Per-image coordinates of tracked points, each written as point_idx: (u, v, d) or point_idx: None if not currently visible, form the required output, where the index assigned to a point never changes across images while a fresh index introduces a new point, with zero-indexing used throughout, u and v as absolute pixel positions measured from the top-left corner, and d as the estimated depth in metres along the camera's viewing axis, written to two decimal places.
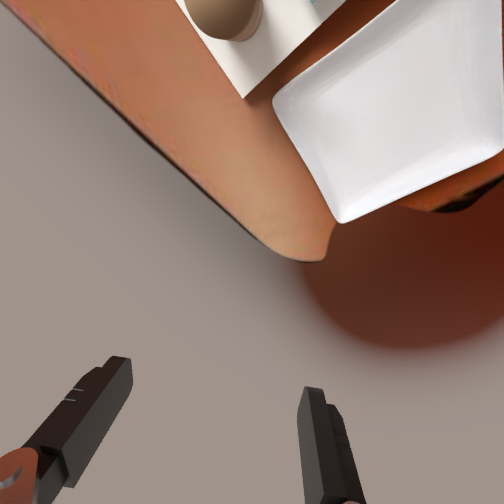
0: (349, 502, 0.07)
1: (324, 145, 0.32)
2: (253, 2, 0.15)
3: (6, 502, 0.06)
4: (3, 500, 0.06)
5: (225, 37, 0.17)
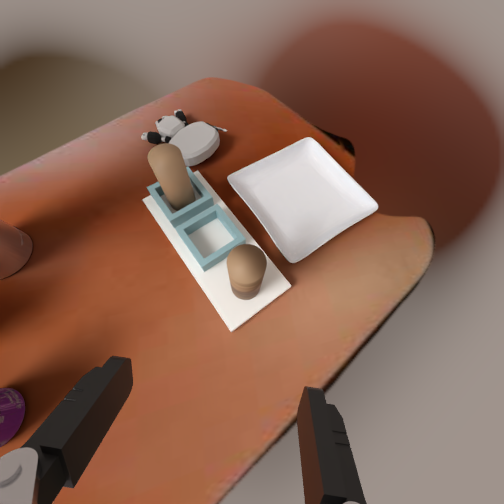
0: (349, 502, 0.07)
1: (317, 230, 0.43)
2: (252, 245, 0.29)
3: (6, 502, 0.06)
4: (3, 500, 0.06)
5: (266, 260, 0.28)
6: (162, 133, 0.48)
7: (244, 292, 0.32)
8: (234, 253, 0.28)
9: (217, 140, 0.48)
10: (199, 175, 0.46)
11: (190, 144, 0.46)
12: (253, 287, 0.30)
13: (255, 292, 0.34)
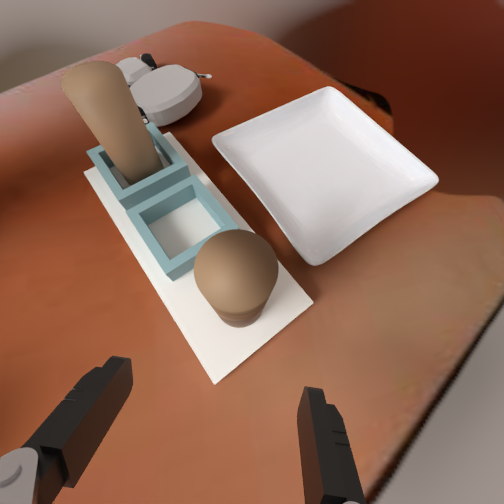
0: (349, 502, 0.07)
1: (347, 215, 0.29)
2: (248, 232, 0.14)
3: (6, 502, 0.06)
4: (3, 500, 0.06)
5: (276, 263, 0.13)
6: None
7: (235, 321, 0.18)
8: (211, 248, 0.14)
9: (198, 90, 0.33)
10: (171, 138, 0.32)
11: (157, 93, 0.31)
12: (251, 314, 0.16)
13: (255, 318, 0.20)
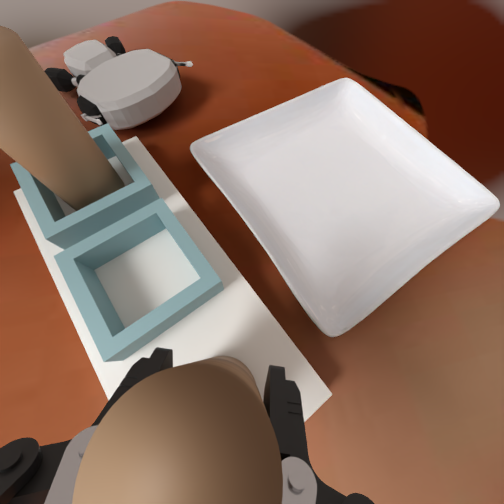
0: (291, 457, 0.07)
1: (375, 252, 0.21)
2: (215, 370, 0.06)
3: None
4: None
5: (278, 464, 0.06)
6: (73, 71, 0.26)
7: None
8: (125, 423, 0.06)
9: (174, 81, 0.25)
10: (138, 145, 0.24)
11: (118, 85, 0.23)
12: None
13: None
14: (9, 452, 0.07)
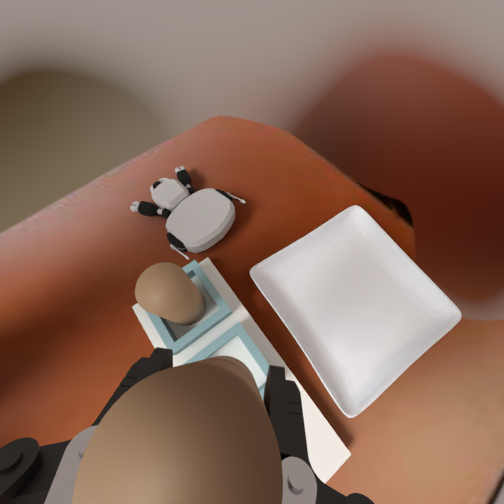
0: (291, 457, 0.07)
1: (376, 348, 0.31)
2: (215, 370, 0.06)
3: None
4: None
5: (278, 464, 0.06)
6: (158, 204, 0.36)
7: None
8: (124, 423, 0.06)
9: (232, 216, 0.35)
10: (210, 265, 0.34)
11: (196, 225, 0.33)
12: None
13: None
14: (9, 452, 0.07)
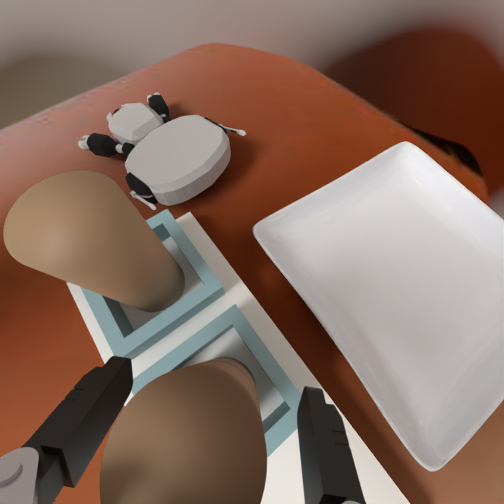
0: (349, 501, 0.07)
1: (454, 349, 0.20)
2: (212, 372, 0.08)
3: (7, 502, 0.06)
4: (3, 500, 0.06)
5: (264, 448, 0.07)
6: (118, 138, 0.25)
7: None
8: (139, 415, 0.07)
9: (226, 153, 0.24)
10: (193, 222, 0.22)
11: (171, 162, 0.22)
12: None
13: None
14: None
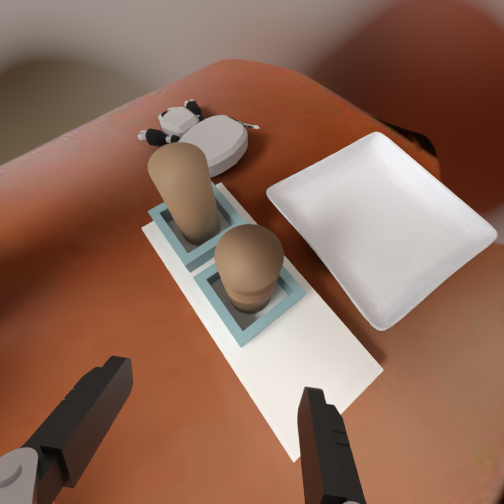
0: (349, 502, 0.07)
1: (405, 270, 0.29)
2: (257, 226, 0.17)
3: (6, 502, 0.06)
4: (3, 500, 0.06)
5: (282, 250, 0.16)
6: (167, 132, 0.34)
7: (247, 304, 0.20)
8: (227, 240, 0.17)
9: (245, 141, 0.33)
10: (223, 189, 0.32)
11: (207, 147, 0.31)
12: (261, 296, 0.19)
13: (264, 303, 0.22)
14: None
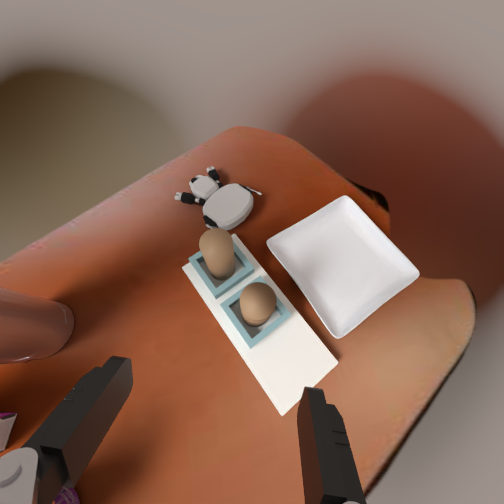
0: (349, 502, 0.07)
1: (358, 297, 0.43)
2: (262, 283, 0.31)
3: (6, 502, 0.06)
4: (3, 500, 0.06)
5: (275, 297, 0.31)
6: (196, 195, 0.48)
7: (255, 323, 0.35)
8: (246, 291, 0.31)
9: (252, 204, 0.47)
10: (236, 239, 0.46)
11: (226, 210, 0.45)
12: (264, 320, 0.33)
13: (265, 321, 0.37)
14: None
